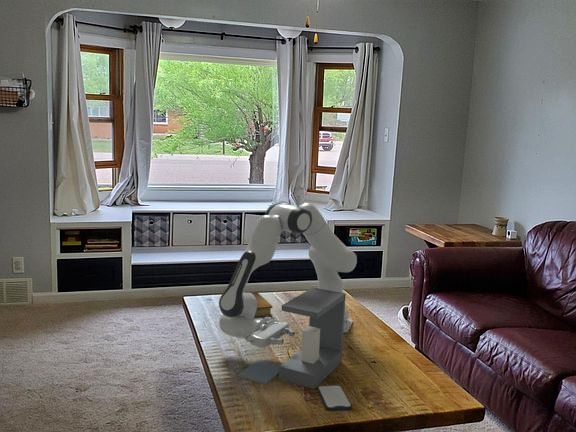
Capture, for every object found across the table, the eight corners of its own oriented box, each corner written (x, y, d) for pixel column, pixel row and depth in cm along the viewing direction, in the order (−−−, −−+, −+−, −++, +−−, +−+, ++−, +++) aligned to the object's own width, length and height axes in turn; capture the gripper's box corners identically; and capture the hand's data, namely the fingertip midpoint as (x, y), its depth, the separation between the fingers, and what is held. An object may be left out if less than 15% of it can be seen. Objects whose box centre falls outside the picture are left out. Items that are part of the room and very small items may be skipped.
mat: (259, 360, 219) (259, 359, 218) (286, 367, 213) (286, 366, 213) (237, 376, 205) (237, 374, 204) (265, 384, 199) (265, 382, 199)
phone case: (316, 390, 198) (326, 412, 182) (316, 385, 198) (326, 408, 182) (340, 389, 199) (352, 411, 184) (340, 385, 199) (353, 406, 184)
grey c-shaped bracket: (309, 354, 226) (312, 287, 222) (341, 362, 220) (345, 293, 215) (278, 379, 204) (281, 305, 199) (313, 388, 197) (317, 312, 193)
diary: (221, 305, 283) (221, 294, 282) (256, 302, 290) (257, 291, 289) (234, 321, 262) (234, 309, 261) (272, 317, 269) (272, 305, 268)
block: (306, 356, 213) (308, 325, 211) (318, 358, 210) (320, 328, 208) (300, 360, 208) (302, 329, 206) (313, 363, 206) (314, 332, 204)
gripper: (242, 331, 209) (275, 339, 203) (269, 315, 227) (300, 322, 221) (242, 347, 210) (274, 355, 204) (269, 330, 228) (299, 337, 222)
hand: (288, 338), depth 212 cm, fingers open, 8 cm apart
